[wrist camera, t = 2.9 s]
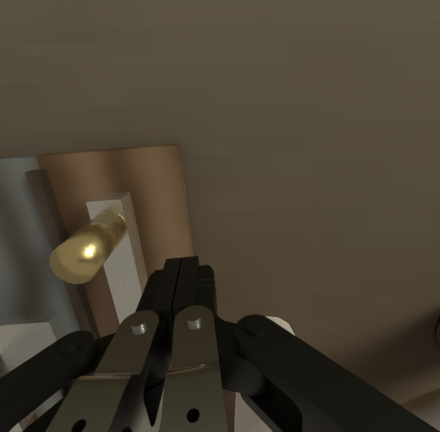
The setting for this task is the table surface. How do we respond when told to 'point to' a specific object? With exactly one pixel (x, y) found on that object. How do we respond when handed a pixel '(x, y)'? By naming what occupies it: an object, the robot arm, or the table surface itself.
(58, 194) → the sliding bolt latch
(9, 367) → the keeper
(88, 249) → the swing bar
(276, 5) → the table surface
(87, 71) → the table surface
